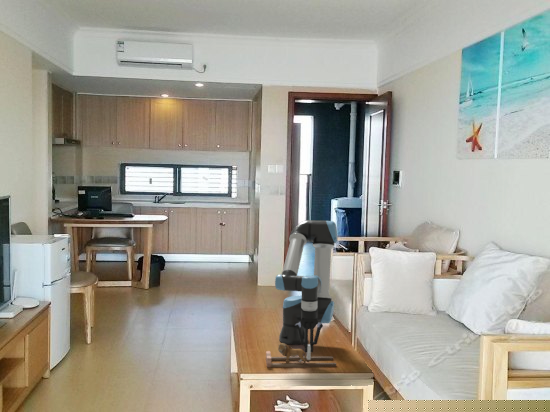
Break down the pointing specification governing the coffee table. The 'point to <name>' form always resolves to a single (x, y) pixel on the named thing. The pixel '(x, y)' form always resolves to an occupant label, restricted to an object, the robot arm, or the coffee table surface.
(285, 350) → the lion figurine
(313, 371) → the coffee table surface
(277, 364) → the track
